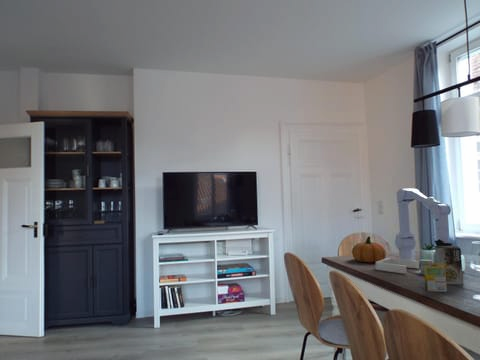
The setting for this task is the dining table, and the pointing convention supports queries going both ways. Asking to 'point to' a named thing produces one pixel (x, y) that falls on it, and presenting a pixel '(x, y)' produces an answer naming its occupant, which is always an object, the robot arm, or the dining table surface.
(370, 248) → the pumpkin
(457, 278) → the coffee box
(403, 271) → the open side box
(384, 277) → the dining table surface
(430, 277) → the crayon box
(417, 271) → the grey pad
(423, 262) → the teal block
